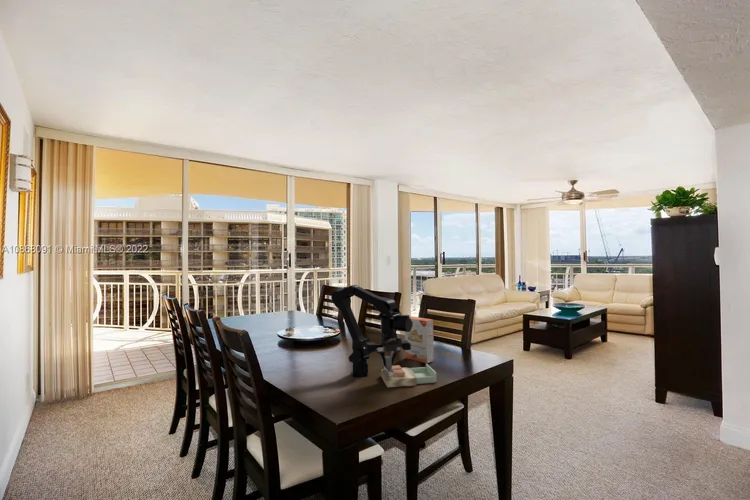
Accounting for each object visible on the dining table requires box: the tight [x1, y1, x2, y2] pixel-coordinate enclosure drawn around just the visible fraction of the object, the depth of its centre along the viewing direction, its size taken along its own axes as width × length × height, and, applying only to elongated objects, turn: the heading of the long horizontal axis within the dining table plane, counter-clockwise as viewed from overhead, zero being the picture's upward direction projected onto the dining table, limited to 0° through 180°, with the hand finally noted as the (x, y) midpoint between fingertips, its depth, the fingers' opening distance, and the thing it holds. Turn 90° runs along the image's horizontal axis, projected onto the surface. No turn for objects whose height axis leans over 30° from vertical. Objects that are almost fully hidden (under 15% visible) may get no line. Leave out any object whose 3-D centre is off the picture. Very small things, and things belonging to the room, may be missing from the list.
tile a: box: [393, 369, 405, 377], centre depth 156 cm, size 4×4×2 cm
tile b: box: [391, 364, 403, 372], centre depth 162 cm, size 4×4×2 cm
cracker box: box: [404, 316, 435, 365], centre depth 187 cm, size 14×6×21 cm, turn 45°
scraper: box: [383, 355, 393, 377], centre depth 158 cm, size 2×11×6 cm, turn 9°
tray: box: [408, 363, 438, 385], centre depth 161 cm, size 8×13×4 cm, turn 10°
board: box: [380, 367, 417, 388], centre depth 158 cm, size 12×14×3 cm
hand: (388, 366), depth 158 cm, fingers closed on scraper, 2 cm apart
